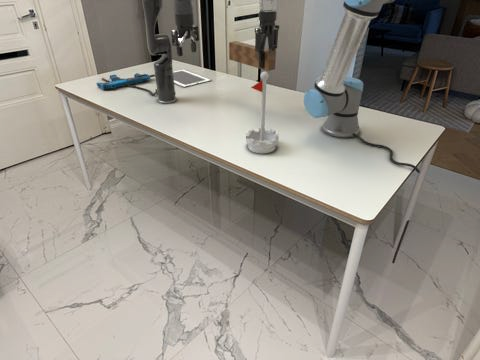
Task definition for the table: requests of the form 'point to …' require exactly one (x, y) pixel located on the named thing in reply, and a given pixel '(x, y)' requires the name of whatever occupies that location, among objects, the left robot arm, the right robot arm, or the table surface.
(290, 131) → the table surface
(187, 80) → the tablet
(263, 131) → the flag stand
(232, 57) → the bar
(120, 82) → the submachine gun
